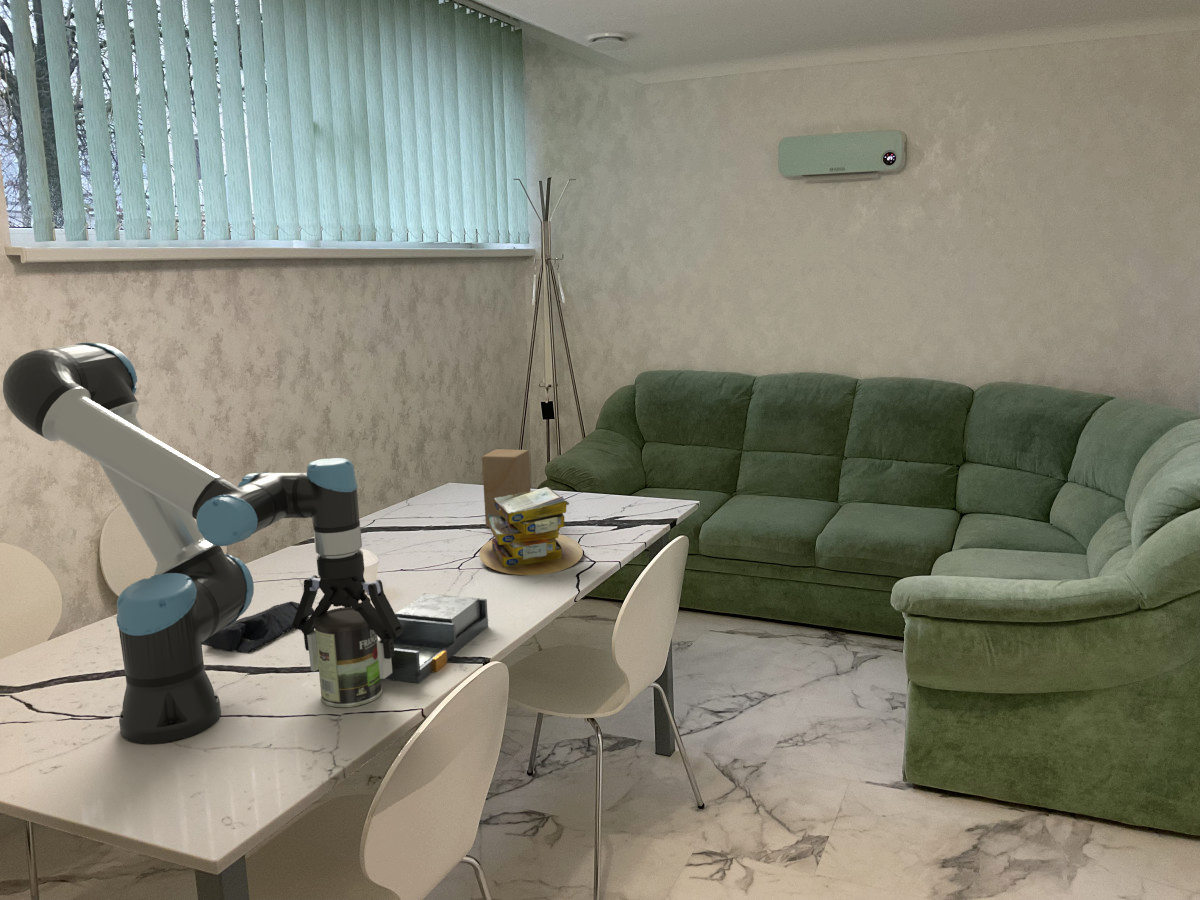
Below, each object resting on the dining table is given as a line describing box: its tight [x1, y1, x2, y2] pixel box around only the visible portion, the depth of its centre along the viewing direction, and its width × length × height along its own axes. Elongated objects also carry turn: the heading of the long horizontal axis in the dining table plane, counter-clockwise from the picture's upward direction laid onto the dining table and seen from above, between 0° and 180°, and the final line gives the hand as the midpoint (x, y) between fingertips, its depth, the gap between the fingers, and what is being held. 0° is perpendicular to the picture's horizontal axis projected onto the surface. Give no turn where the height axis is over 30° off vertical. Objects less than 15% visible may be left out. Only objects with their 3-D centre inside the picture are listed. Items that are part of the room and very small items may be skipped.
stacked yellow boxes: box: [479, 486, 584, 576], centre depth 242 cm, size 25×25×17 cm
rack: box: [384, 592, 489, 684], centre depth 189 cm, size 28×15×6 cm, turn 161°
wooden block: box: [481, 448, 532, 529], centre depth 274 cm, size 10×10×20 cm
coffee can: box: [313, 606, 383, 708], centre depth 170 cm, size 10×10×14 cm
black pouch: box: [201, 600, 315, 653], centre depth 202 cm, size 15×22×5 cm
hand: (351, 672), depth 170 cm, fingers open, 13 cm apart
